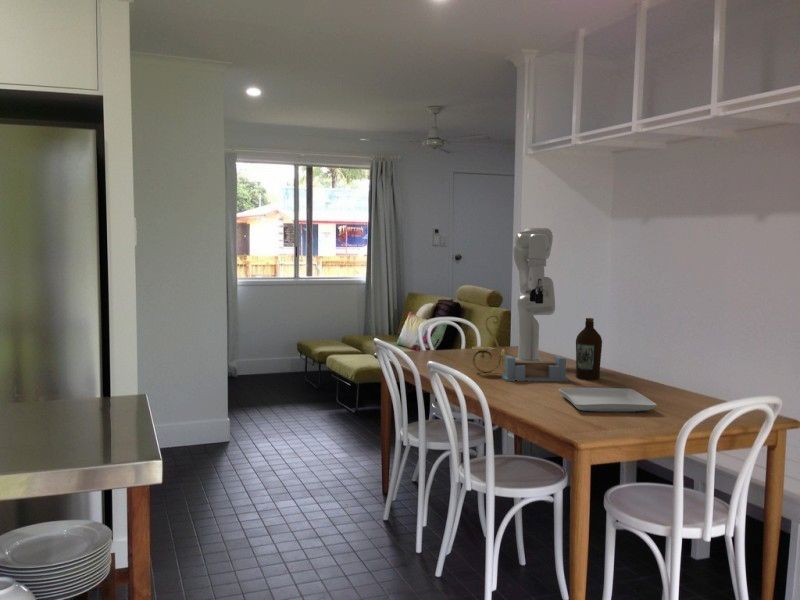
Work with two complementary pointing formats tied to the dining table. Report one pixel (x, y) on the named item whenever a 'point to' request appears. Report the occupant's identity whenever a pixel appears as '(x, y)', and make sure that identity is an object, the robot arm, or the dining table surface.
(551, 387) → the dining table surface
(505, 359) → the grey bracket base
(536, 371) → the rail
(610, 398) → the square plate
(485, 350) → the wall sconce
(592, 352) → the olive oil
